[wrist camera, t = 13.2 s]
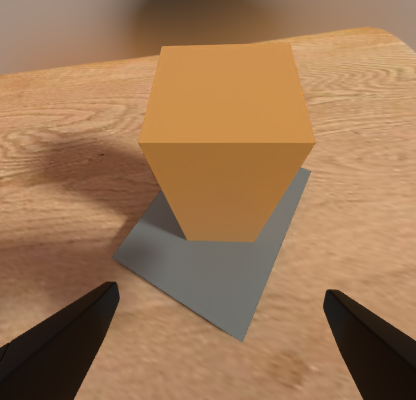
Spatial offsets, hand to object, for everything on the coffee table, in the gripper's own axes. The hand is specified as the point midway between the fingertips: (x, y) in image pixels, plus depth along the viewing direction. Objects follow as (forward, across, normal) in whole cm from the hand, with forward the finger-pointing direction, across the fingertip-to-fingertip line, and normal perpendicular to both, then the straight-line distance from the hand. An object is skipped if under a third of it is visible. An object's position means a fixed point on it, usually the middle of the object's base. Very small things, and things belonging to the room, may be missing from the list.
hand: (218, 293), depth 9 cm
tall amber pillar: (+10, 0, 0) cm, 10 cm away
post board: (+11, 0, +1) cm, 11 cm away
